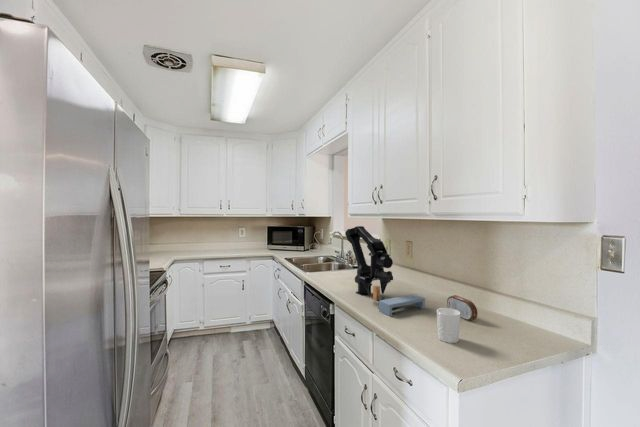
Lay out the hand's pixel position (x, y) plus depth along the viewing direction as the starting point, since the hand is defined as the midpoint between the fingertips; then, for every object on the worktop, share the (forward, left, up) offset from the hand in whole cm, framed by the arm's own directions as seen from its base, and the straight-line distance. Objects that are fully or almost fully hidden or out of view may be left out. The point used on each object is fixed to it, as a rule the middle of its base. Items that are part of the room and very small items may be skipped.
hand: (376, 294), depth 152 cm
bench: (+18, 0, -2) cm, 19 cm away
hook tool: (+7, -2, -3) cm, 8 cm away
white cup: (+49, -8, -3) cm, 50 cm away
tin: (+37, +16, -3) cm, 41 cm away
